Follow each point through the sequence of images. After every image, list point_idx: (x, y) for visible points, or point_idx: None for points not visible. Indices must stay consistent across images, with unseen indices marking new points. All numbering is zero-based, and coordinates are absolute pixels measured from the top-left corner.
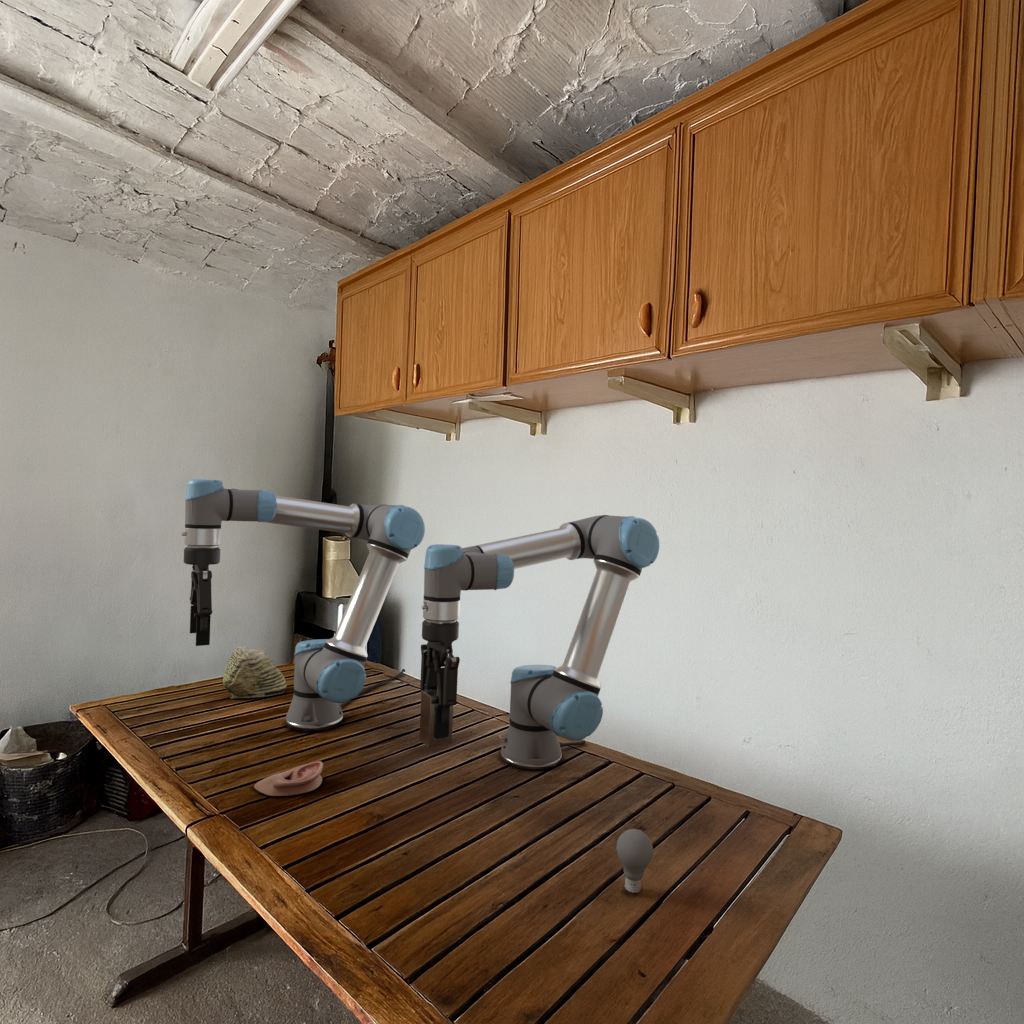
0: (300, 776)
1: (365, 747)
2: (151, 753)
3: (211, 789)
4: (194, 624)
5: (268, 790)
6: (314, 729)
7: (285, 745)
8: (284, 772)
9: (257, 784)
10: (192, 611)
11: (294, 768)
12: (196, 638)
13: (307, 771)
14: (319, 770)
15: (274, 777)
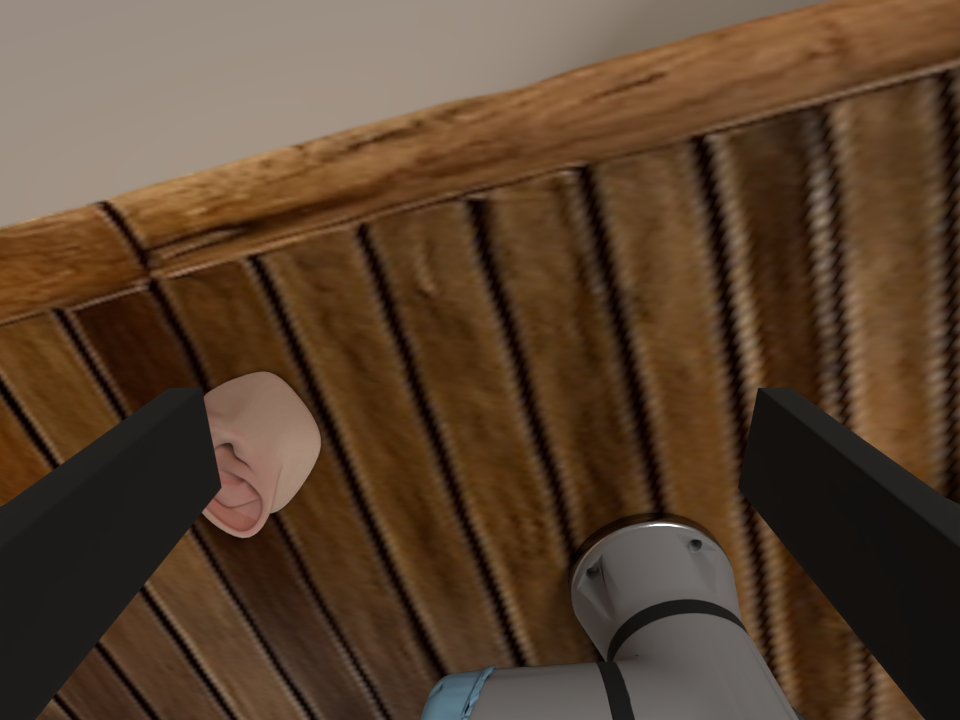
0: (238, 476)
1: (418, 629)
2: (645, 135)
3: (299, 276)
4: (804, 470)
5: (215, 397)
6: (573, 566)
7: (517, 483)
8: (248, 450)
9: (257, 381)
10: (939, 561)
11: (261, 475)
12: (125, 422)
13: (240, 496)
14: (212, 521)
15: (222, 424)
